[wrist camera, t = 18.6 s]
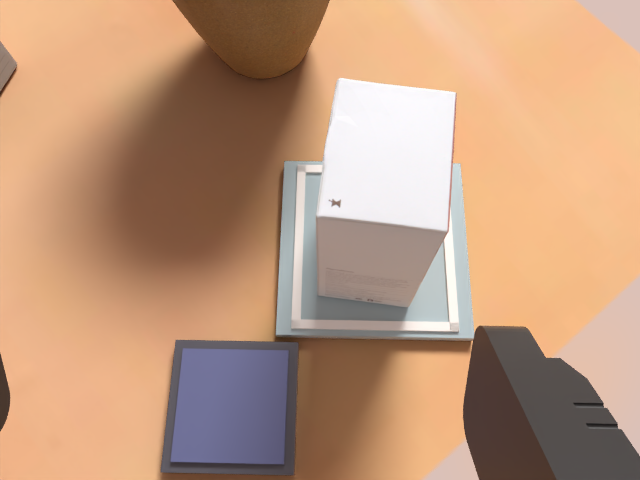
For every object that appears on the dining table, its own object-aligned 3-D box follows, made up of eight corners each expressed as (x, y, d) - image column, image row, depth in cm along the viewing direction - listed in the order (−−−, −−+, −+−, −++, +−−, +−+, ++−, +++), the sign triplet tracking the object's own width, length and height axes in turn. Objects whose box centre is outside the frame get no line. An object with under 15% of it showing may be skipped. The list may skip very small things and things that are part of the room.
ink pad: (164, 472, 35) (159, 472, 34) (178, 342, 38) (174, 338, 37) (294, 475, 35) (293, 475, 34) (298, 345, 38) (298, 341, 37)
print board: (276, 337, 38) (275, 334, 37) (285, 166, 43) (284, 159, 42) (471, 340, 38) (475, 337, 37) (458, 168, 43) (460, 162, 42)
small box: (409, 309, 38) (450, 235, 26) (315, 297, 38) (311, 218, 26) (418, 200, 41) (458, 88, 29) (331, 190, 41) (334, 74, 29)
